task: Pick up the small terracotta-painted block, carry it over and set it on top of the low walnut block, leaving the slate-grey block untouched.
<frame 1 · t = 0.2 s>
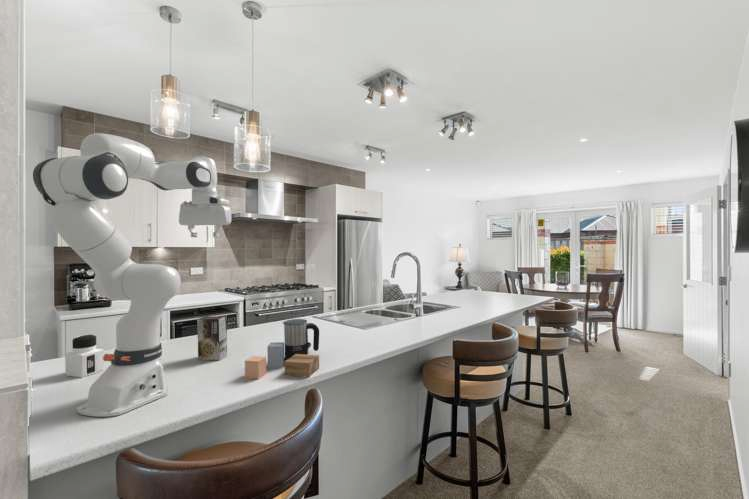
hand: (205, 237, 140), 47 cm above the countertop, fingers open, 8 cm apart
terracotta block: (255, 376, 125), on the countertop
coffee box: (212, 358, 145), on the countertop
container: (85, 373, 128), on the countertop
walnut block: (302, 372, 129), on the countertop
milk frother: (298, 356, 148), on the countertop
slate block: (276, 365, 136), on the countertop
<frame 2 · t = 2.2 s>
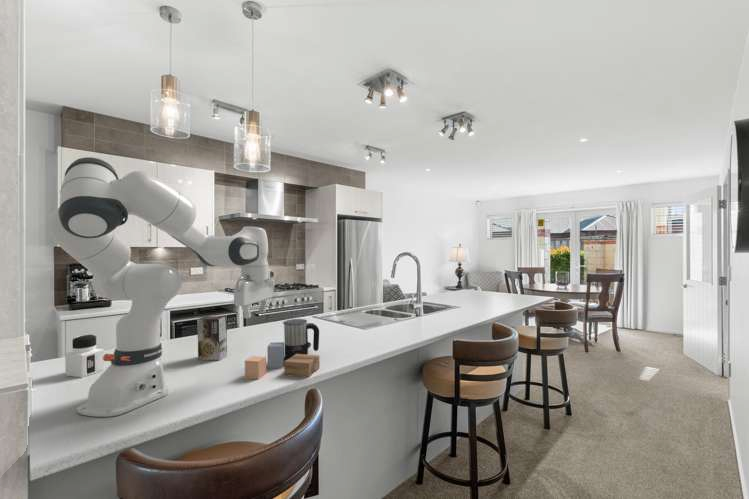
hand: (255, 315, 125), 21 cm above the countertop, fingers open, 8 cm apart
nothing on the countertop moved.
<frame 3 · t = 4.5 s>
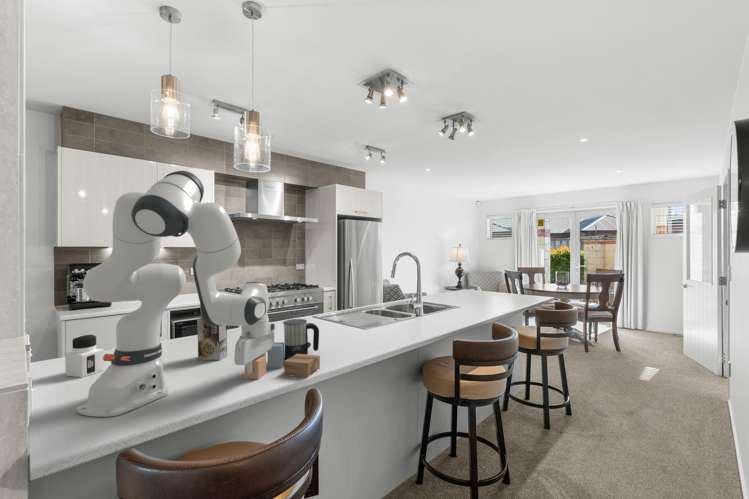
hand: (255, 369, 125), 2 cm above the countertop, fingers closed on terracotta block, 5 cm apart
terracotta block: (255, 376, 125), on the countertop, touching gripper
everything else where it was.
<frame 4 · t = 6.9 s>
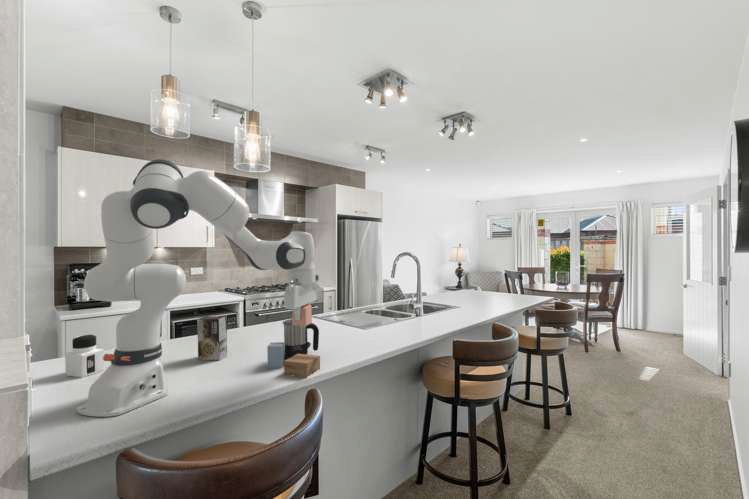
hand: (302, 317, 128), 19 cm above the countertop, fingers closed on terracotta block, 5 cm apart
terracotta block: (302, 323, 128), point 17 cm above the countertop, touching gripper
everything else where it was.
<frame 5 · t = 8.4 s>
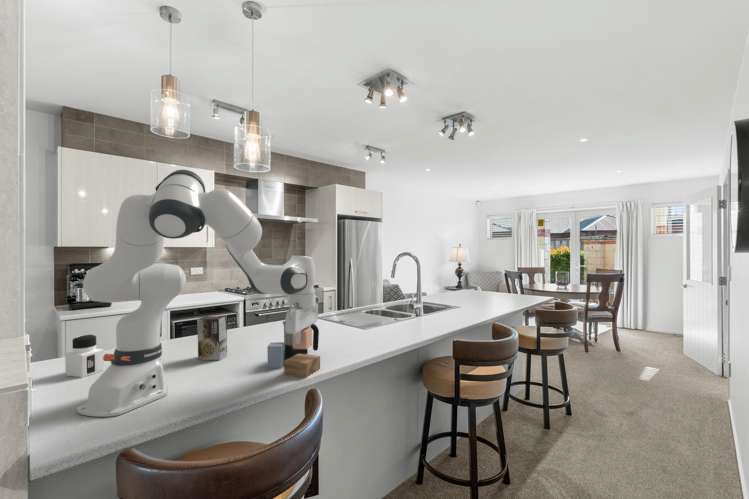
hand: (302, 340, 129), 11 cm above the countertop, fingers closed on terracotta block, 5 cm apart
terracotta block: (302, 346, 129), point 9 cm above the countertop, touching gripper
everything else where it was.
when the fingers open (8 cm above the countertop, at t = 9.5 s): terracotta block drops 1 cm, resting on walnut block.
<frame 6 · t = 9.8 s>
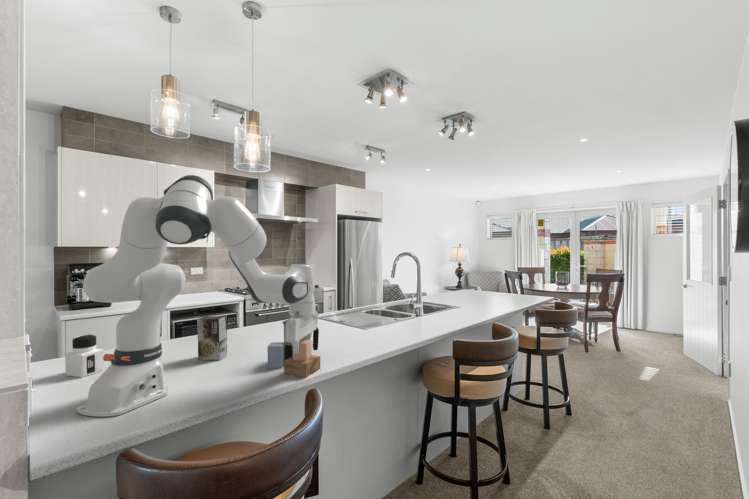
hand: (302, 348, 129), 8 cm above the countertop, fingers open, 8 cm apart
terracotta block: (302, 358, 129), point 5 cm above the countertop, touching walnut block
walnut block: (302, 372, 129), on the countertop, touching terracotta block
everything else where it was.
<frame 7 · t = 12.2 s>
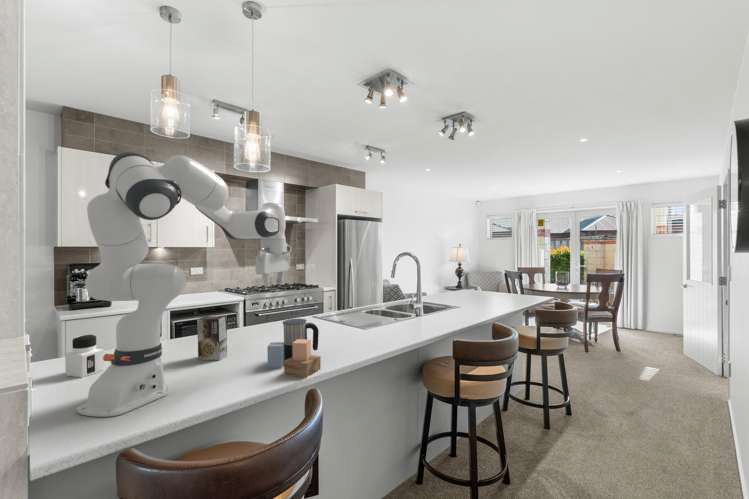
hand: (273, 285, 136), 30 cm above the countertop, fingers open, 8 cm apart
nothing on the countertop moved.
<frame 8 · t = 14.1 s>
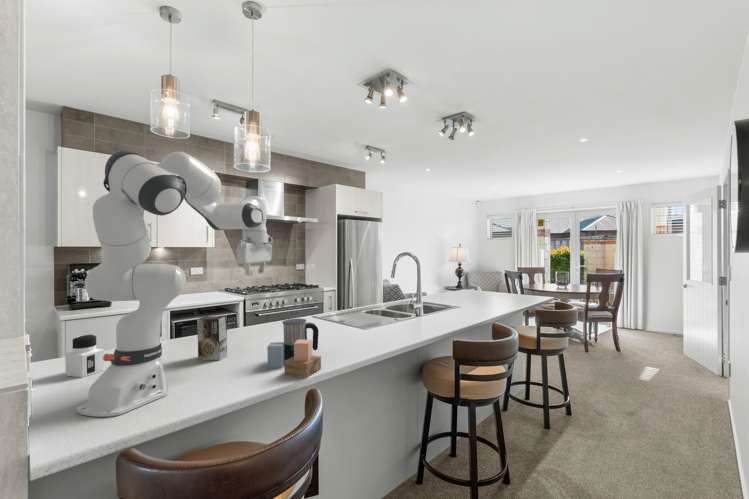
hand: (255, 274, 142), 33 cm above the countertop, fingers open, 8 cm apart
terracotta block: (303, 358, 129), point 5 cm above the countertop
walnut block: (303, 372, 129), on the countertop
at the end: terracotta block inside the target area on the walnut block (0.0 cm from its centre), point 5.0 cm above the walnut block's base; terracotta block tilted 0°; the gripper is holding nothing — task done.
